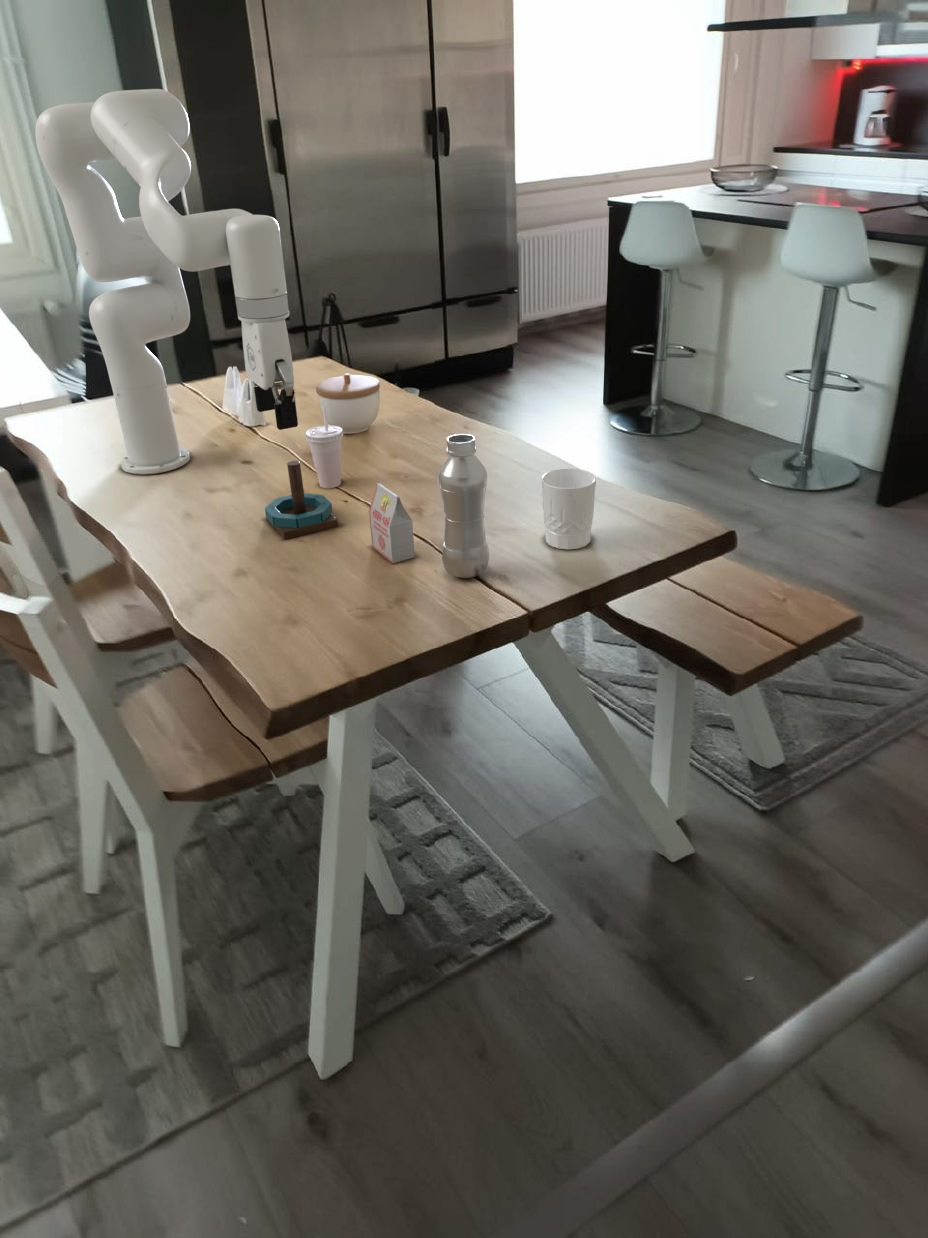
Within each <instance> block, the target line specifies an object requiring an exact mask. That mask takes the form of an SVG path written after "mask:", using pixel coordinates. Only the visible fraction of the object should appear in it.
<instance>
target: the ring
mask: <svg viewBox="0 0 928 1238" xmlns="http://www.w3.org/2000/svg"><path fill="white" fill-rule="evenodd" d="M304 496H305V503H306V506H311V507H317V509H316V510H314V511H311V512H307V513H303V514H299V515H292V514H281V512H282V511H283V510H284V509H288V508H293V502H292V495H291V494H288V495H285V496H281V497H277V498H275V499H273V500H272V501H271V502H270V503H269V504H267V506H265V507H264V512H265V513H266V514H265V519H266V518H267V519H268V520H269V521H270V522H271V523H272V524H273V525H274V526H277V527H288V528H302V527H306V526H310V525H314V524H318V523H322V522H324V521H325V520H326V519H327V518H328V517H329V516H330V515H331V514H332V515H333V502H332V501H331V500H329V499H328V498H327V497H326V496H325V495H323V494H319V493H307V492H304Z"/></svg>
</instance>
